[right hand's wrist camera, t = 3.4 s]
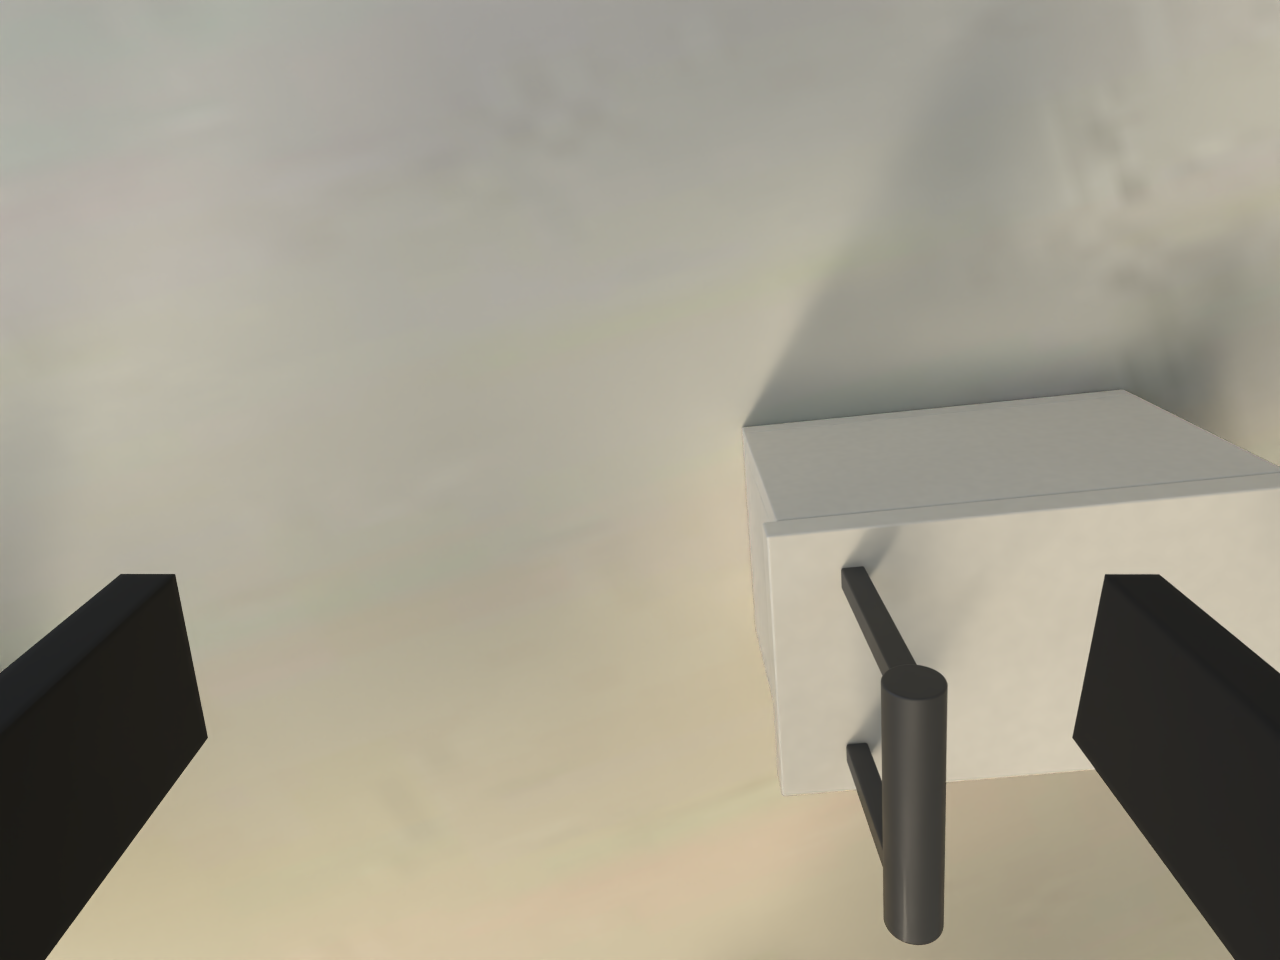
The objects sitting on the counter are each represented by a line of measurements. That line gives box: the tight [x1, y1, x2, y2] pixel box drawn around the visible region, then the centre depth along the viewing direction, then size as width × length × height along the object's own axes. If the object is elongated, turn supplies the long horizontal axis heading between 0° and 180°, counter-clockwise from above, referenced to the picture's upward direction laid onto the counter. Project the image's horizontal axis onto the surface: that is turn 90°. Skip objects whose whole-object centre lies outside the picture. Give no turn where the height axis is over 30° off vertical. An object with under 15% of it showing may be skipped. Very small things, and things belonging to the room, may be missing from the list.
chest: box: [742, 389, 1280, 700], centre depth 33 cm, size 15×10×10 cm, turn 96°
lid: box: [762, 473, 1280, 945], centre depth 25 cm, size 16×10×8 cm, turn 96°
